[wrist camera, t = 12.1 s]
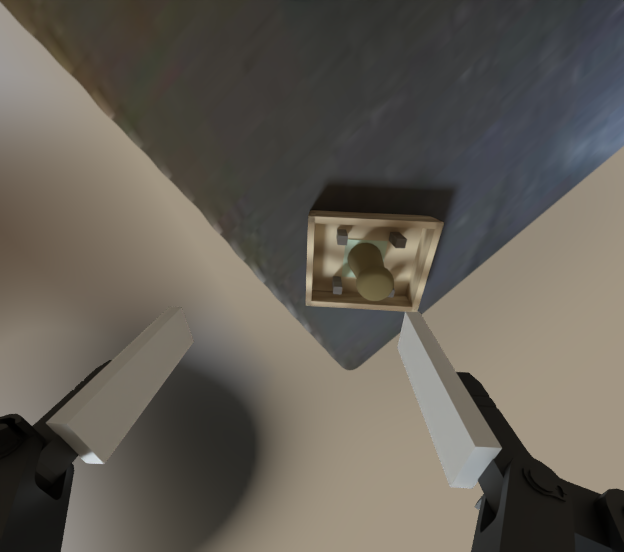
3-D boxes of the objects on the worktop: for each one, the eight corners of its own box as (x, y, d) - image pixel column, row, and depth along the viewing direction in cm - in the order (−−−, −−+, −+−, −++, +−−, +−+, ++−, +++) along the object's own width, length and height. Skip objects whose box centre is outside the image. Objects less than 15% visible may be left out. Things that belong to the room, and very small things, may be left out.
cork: (344, 247, 39) (350, 274, 29) (378, 238, 38) (397, 263, 28) (351, 277, 41) (359, 311, 31) (383, 269, 40) (402, 302, 30)
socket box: (310, 210, 37) (308, 216, 33) (429, 215, 37) (444, 222, 32) (307, 291, 45) (305, 305, 40) (407, 297, 44) (416, 312, 40)
